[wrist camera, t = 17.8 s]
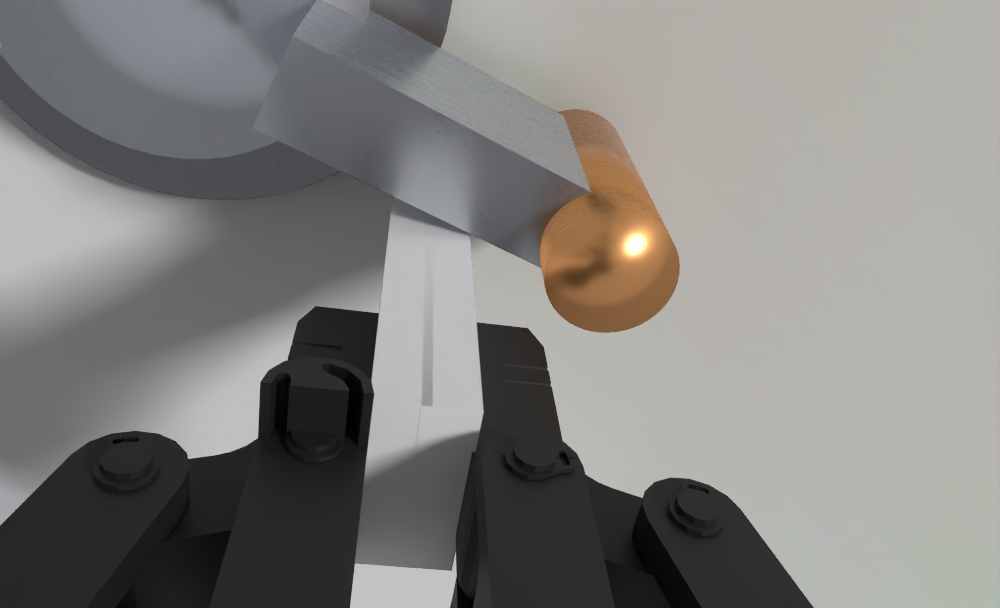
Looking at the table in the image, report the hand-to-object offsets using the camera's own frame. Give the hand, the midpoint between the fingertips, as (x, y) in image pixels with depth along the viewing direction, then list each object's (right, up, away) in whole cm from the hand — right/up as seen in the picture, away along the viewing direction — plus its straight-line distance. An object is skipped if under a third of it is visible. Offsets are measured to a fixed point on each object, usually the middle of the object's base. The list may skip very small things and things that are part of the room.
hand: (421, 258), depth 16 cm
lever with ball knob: (-2, +4, 0) cm, 5 cm away
